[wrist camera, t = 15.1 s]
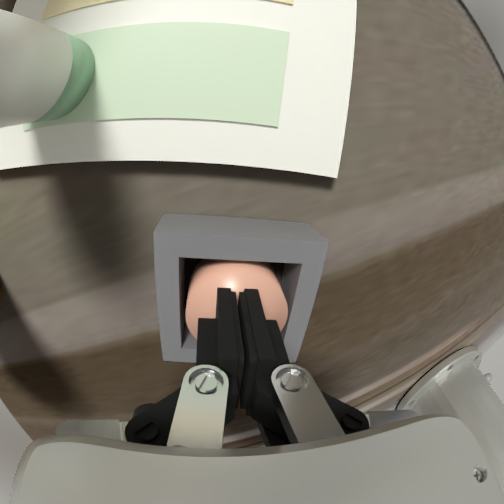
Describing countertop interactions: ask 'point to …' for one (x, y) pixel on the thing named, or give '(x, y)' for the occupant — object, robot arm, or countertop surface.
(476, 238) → the countertop surface
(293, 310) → the button housing
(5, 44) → the white cylinder
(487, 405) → the robot arm
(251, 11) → the picture board
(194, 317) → the button cap
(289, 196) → the countertop surface
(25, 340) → the countertop surface
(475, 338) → the countertop surface
